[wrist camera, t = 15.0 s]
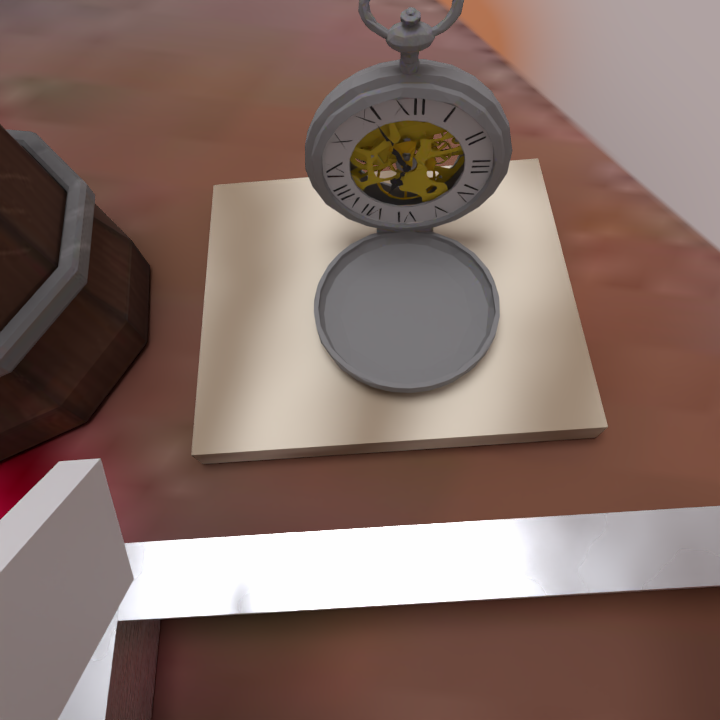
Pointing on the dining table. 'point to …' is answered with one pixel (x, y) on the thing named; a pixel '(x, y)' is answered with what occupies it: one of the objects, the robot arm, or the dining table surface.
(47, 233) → the mug
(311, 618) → the dining table surface
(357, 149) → the pocket watch
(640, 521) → the u-shaped metal frame
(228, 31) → the dining table surface
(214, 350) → the ash board
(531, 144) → the dining table surface
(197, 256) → the dining table surface
